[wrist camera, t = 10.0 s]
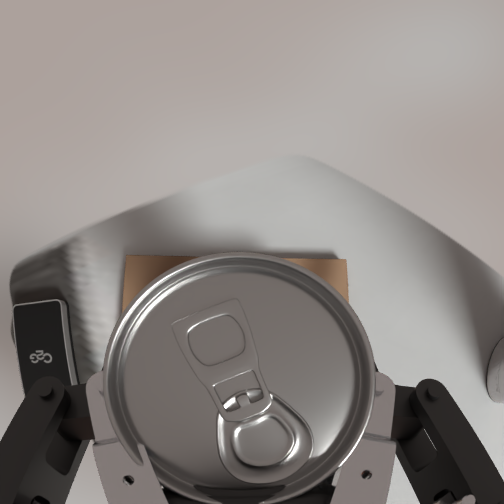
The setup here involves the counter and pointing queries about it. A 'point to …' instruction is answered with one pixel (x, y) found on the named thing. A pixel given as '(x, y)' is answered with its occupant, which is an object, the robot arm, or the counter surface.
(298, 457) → the can
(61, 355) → the external hard drive
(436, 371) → the counter surface
